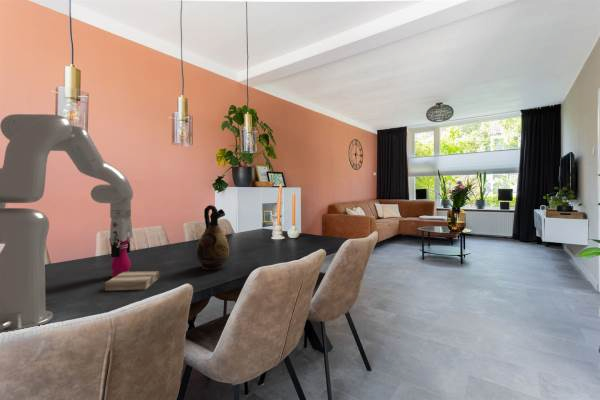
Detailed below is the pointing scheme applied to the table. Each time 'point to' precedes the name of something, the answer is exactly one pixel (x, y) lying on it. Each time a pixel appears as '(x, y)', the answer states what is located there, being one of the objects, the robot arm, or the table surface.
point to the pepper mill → (121, 260)
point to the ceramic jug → (212, 241)
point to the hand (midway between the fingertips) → (121, 254)
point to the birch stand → (132, 280)
